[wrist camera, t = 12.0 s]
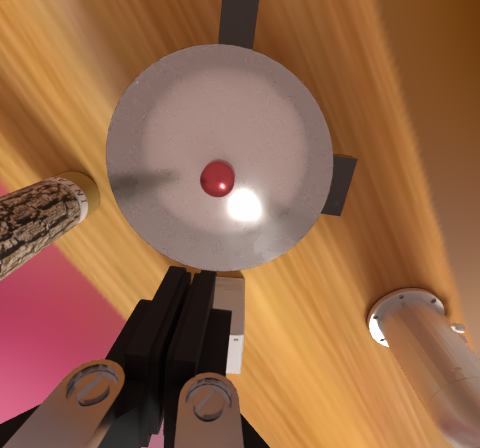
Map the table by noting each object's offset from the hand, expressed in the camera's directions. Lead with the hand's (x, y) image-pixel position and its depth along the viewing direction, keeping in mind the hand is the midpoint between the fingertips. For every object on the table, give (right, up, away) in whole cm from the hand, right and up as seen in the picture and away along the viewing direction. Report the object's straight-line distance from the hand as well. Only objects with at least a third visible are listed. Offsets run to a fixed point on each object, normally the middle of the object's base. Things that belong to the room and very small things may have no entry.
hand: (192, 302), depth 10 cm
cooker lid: (0, +8, +17) cm, 19 cm away
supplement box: (-1, -9, +39) cm, 40 cm away
